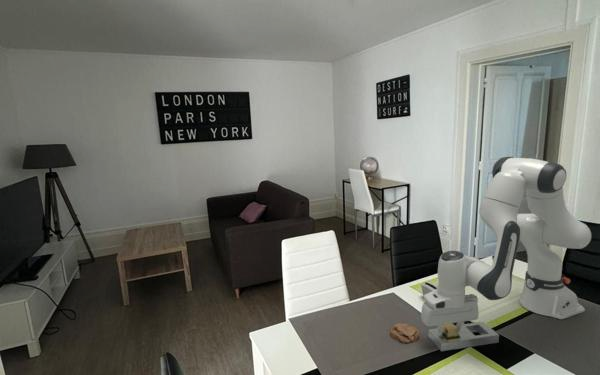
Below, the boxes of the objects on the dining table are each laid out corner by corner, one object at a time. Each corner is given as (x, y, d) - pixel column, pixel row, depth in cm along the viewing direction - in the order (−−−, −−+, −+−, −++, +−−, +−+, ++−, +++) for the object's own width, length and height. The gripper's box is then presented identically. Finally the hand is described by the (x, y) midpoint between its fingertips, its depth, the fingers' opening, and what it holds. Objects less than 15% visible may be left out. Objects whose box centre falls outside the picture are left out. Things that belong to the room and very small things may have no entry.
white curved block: (459, 312, 131) (453, 293, 128) (450, 318, 130) (444, 299, 127) (432, 293, 146) (426, 275, 144) (424, 298, 146) (418, 280, 143)
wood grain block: (450, 337, 116) (451, 322, 115) (457, 344, 112) (458, 329, 111) (440, 338, 115) (441, 323, 114) (447, 345, 111) (448, 330, 110)
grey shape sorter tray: (482, 328, 120) (482, 321, 119) (498, 342, 112) (499, 334, 111) (428, 336, 117) (428, 329, 116) (441, 351, 109) (441, 343, 108)
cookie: (424, 341, 115) (424, 334, 114) (397, 346, 113) (397, 338, 113) (411, 325, 124) (411, 318, 124) (385, 329, 123) (385, 322, 122)
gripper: (471, 289, 115) (469, 323, 117) (419, 295, 112) (418, 330, 115) (484, 298, 109) (481, 333, 111) (428, 305, 106) (427, 342, 109)
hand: (449, 332), depth 113 cm, fingers open, 5 cm apart
